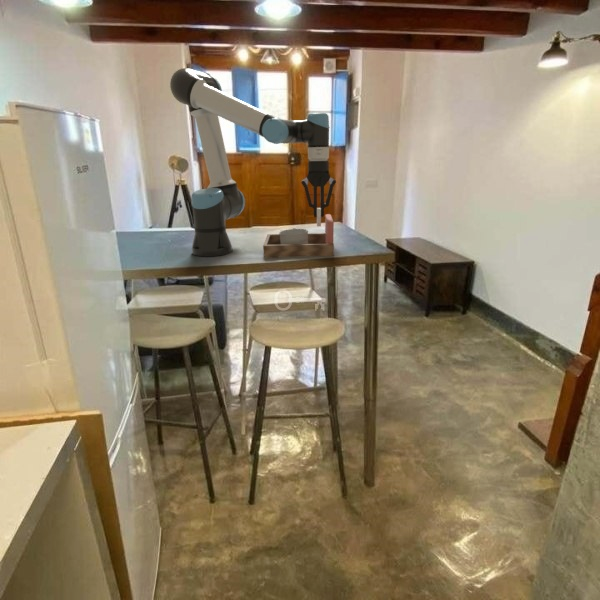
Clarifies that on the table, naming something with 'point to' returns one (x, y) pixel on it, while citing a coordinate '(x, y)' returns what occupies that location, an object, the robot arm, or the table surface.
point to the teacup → (294, 236)
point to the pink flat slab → (329, 229)
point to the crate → (297, 247)
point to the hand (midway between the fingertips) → (318, 225)
